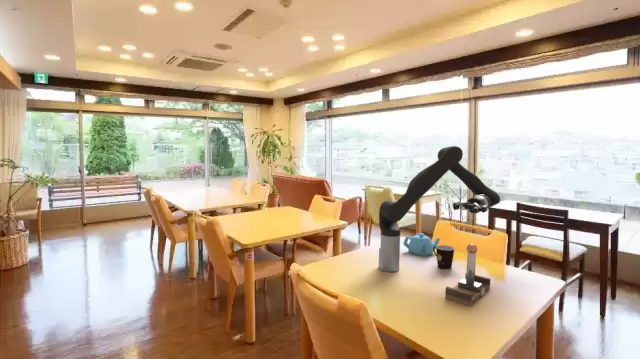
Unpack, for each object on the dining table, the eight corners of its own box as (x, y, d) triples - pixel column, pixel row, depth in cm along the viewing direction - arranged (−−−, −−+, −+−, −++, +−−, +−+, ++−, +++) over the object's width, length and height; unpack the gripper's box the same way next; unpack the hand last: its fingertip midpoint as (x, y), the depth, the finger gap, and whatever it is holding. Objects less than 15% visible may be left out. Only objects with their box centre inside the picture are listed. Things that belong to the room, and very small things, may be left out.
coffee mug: (456, 270, 171) (457, 250, 170) (438, 270, 171) (439, 250, 170) (448, 262, 182) (449, 243, 181) (431, 262, 182) (432, 243, 181)
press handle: (477, 292, 142) (480, 247, 140) (457, 286, 147) (460, 243, 145) (482, 288, 145) (484, 244, 143) (462, 282, 151) (464, 240, 149)
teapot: (417, 246, 209) (418, 228, 208) (440, 252, 197) (441, 234, 196) (401, 251, 199) (401, 233, 198) (424, 258, 188) (425, 239, 186)
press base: (471, 306, 134) (472, 295, 133) (445, 298, 141) (445, 287, 140) (491, 289, 150) (491, 278, 149) (466, 282, 157) (466, 272, 156)
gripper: (462, 195, 174) (448, 198, 162) (493, 198, 164) (481, 202, 153) (461, 210, 175) (448, 215, 163) (492, 214, 165) (480, 219, 154)
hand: (464, 209), depth 158 cm, fingers open, 8 cm apart
